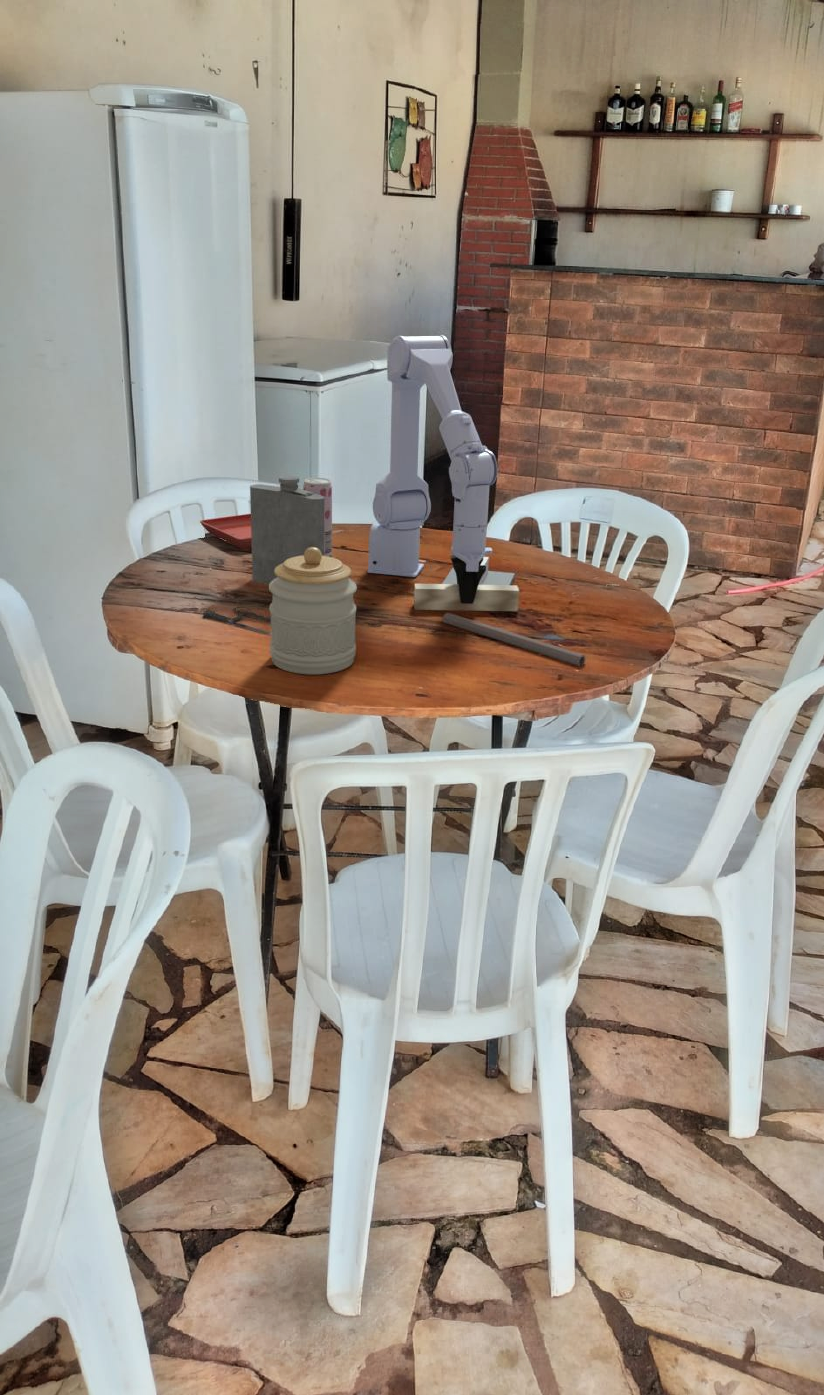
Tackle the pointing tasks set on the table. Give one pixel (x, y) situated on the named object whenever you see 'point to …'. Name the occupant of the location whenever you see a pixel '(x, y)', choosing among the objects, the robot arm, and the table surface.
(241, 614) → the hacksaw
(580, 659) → the metal rod
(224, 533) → the plant saucer
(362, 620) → the table surface
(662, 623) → the table surface
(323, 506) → the hip flask
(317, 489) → the beverage can
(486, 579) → the grey stepped base
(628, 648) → the table surface
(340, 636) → the jar
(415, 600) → the birch beam
